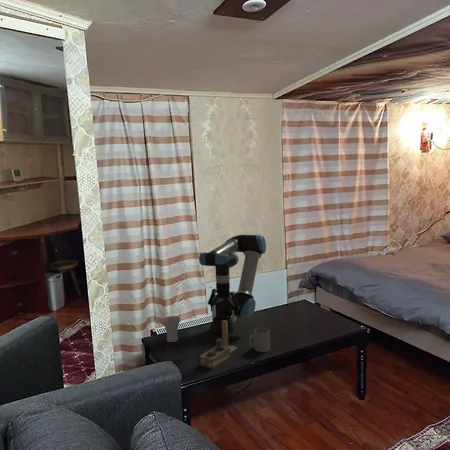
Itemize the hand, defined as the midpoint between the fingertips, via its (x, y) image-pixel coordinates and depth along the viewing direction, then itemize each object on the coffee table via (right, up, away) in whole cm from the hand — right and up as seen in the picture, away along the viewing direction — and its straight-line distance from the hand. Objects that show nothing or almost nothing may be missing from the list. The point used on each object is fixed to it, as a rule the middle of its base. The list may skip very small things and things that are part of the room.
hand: (224, 319), depth 229 cm
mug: (+20, -17, +1) cm, 26 cm away
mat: (+1, -18, +3) cm, 18 cm away
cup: (-31, -17, +17) cm, 39 cm away
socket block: (-4, -20, -10) cm, 23 cm away
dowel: (+1, -17, +3) cm, 17 cm away
